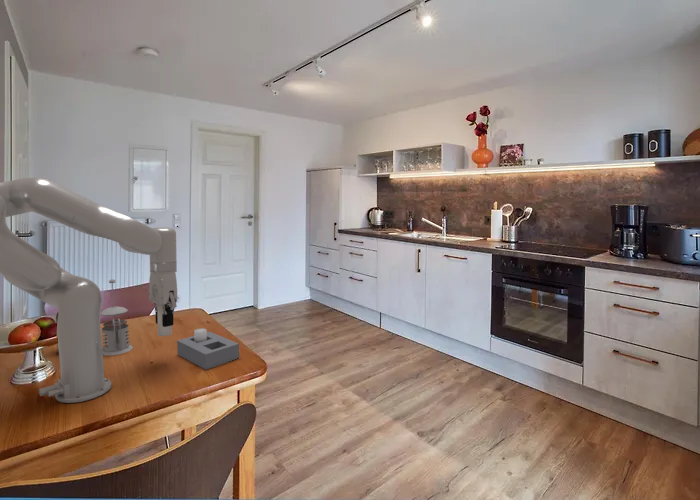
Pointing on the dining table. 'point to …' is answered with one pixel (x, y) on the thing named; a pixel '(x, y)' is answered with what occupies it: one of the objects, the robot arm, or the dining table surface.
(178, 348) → the socket block
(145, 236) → the robot arm
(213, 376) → the dining table surface
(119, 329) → the french press
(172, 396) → the dining table surface
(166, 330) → the peg
